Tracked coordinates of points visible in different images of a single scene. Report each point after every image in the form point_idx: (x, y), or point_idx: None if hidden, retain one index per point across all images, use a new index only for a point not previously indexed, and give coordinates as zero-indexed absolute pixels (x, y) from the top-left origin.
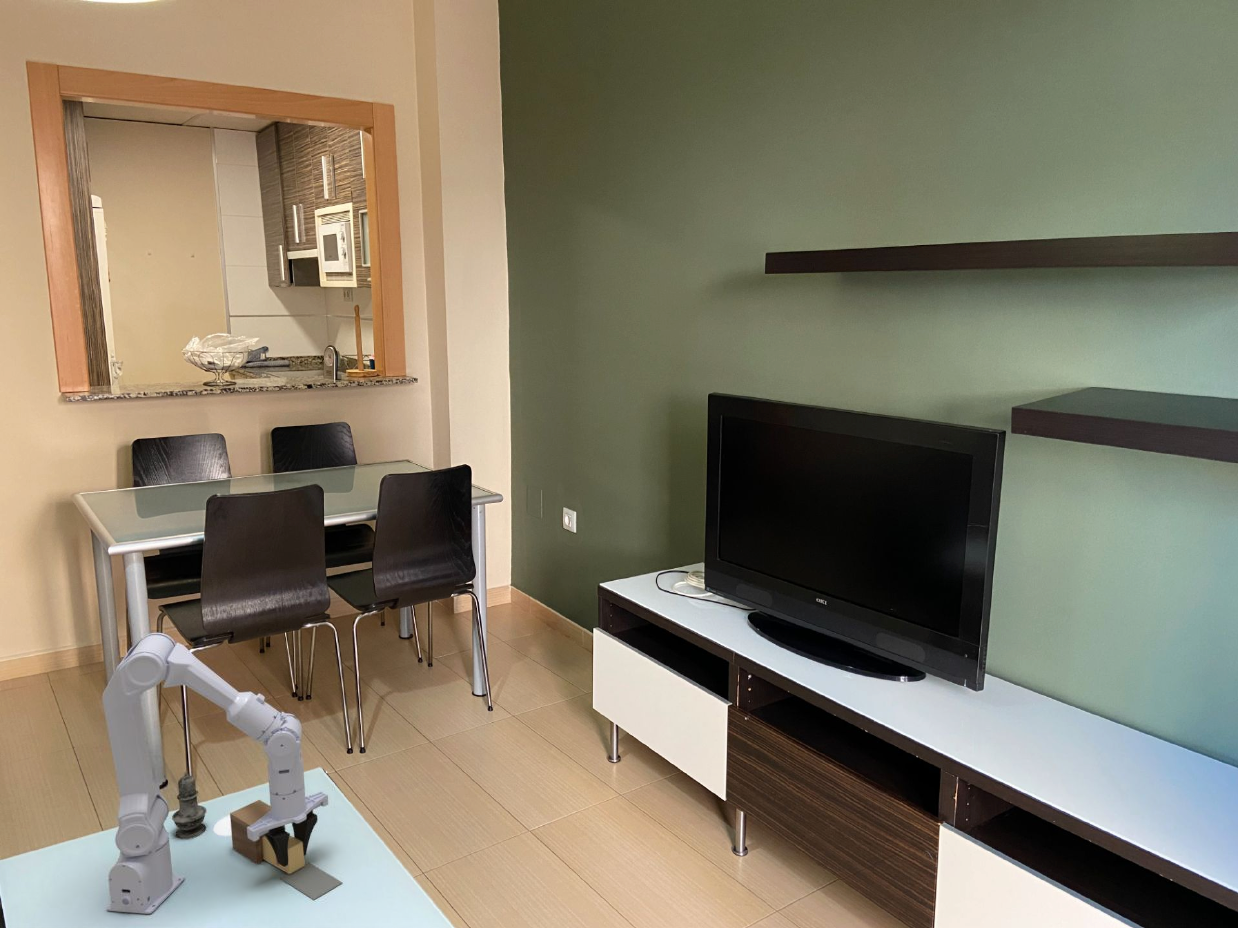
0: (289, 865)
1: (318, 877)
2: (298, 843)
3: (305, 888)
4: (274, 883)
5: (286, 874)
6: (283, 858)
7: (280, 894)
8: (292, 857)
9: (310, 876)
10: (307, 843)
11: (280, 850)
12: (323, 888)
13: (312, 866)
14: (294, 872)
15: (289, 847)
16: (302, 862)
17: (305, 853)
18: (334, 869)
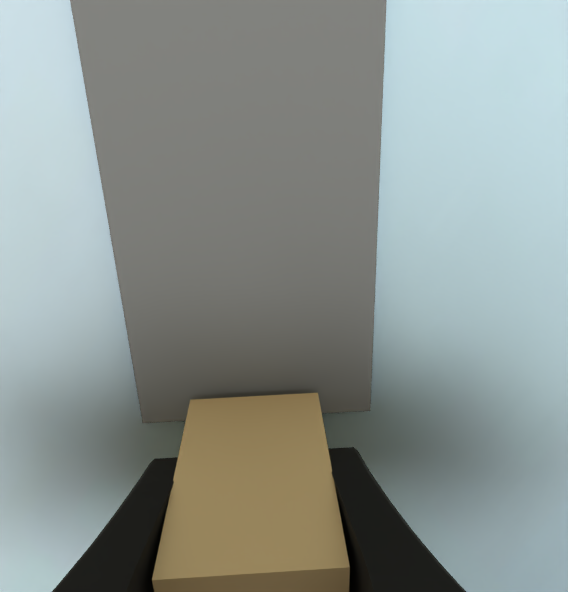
0: (318, 435)
1: (186, 202)
2: (200, 580)
3: (336, 156)
4: (422, 388)
5: (323, 408)
6: (389, 500)
7: (482, 251)
8: (288, 478)
9: (223, 264)
10: (111, 533)
11: (459, 590)
12: (239, 16)
13: (148, 360)
14: (274, 391)
15: (307, 582)
16: (203, 418)
17: (156, 467)
18: (31, 208)
